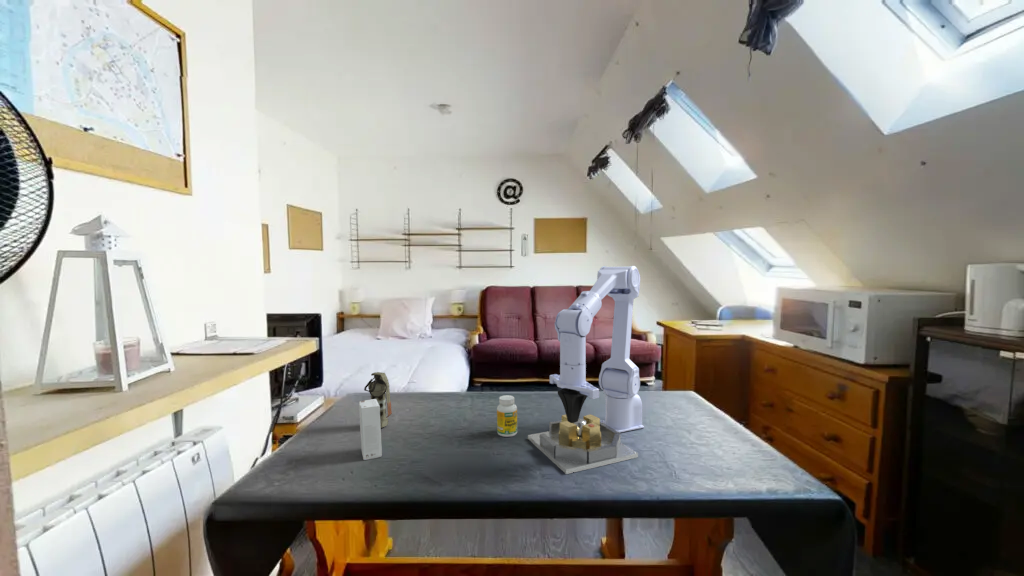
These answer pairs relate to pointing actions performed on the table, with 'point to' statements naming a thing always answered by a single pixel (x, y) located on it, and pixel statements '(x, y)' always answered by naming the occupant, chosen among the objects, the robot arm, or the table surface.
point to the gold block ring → (589, 433)
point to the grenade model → (380, 395)
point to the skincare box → (370, 429)
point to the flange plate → (579, 465)
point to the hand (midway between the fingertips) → (572, 421)
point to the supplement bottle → (506, 416)
